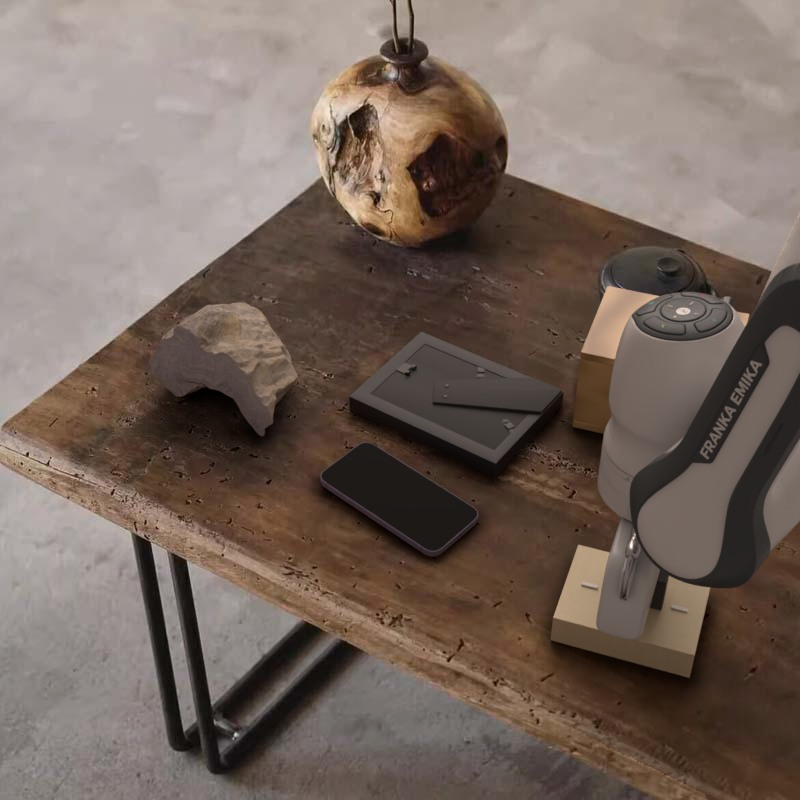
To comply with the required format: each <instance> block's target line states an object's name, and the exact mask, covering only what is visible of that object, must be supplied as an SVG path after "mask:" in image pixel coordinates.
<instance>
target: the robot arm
mask: <svg viewBox="0 0 800 800" xmlns="http://www.w3.org/2000/svg"><path fill="white" fill-rule="evenodd" d="M792 225H793V226H792V228H791V230H790V232H789V235H788V236H787V239H786V241H785V244H784V245H783V247H782V249H781V251H780V254H779V256H778V258H777V260H776V262H775V264H774V266H773V269H772V270H771V272H770V275H769V277H768V278H767V281H766V284H765V286H764V288H763V291H762V292H761V295H760V298H759V299H758V301H757V304H756V306H755V308H754V310H753V312H752V313H751V315H750V316H749V320H748V322H747V324H746V326H744V325H743V323H742V321H741V319H740V317H739V315H738V313H737V312H738V311H737V310H736V308H735V309H734V308H733V307H732V306H731V305H730V304H728V303H727V302H725V301H724V300H722V299H721V297H720V298H719V297H717V296H715V295H712V294H709V293H705V292H704V293H703V292H696V291H680V292H672V293H666V294H663V295H658V296H659V297H657V298H655V299H653V300H651V301H649V302H648V303H646V304H644V305H643V306H641V307H640V308H638V309H637V310H636V311H635V312H634V313H633V314H632V315H631V316H630V318H629V319H628V321H627V323H626V325H625V328H624V330H623V332H622V335H621V338H620V342H619V345H618V349H617V352H616V357H615V361H614V366H613V371H612V377H611V384H610V391H609V405H610V409H611V413H612V415H611V418H610V420H609V422H608V424H607V426H606V428H605V432H604V434H603V437H602V444H601V452H600V457H599V459H600V460H599V466H598V475H597V490H598V493H599V495H600V497H601V499H602V501H603V502H604V504H605V505H606V506H607V507H608V508H609V509H610V510H611V511H612V512H614V513H615V514H616V515H617V516H618V517H619V518H620V519H619V522H618V525H617V529H616V532H615V535H614V537H613V541H612V544H611V547H610V550H609V552H610V553H609V557H608V560H607V564H606V569H605V573H604V578H603V583H602V589H601V594H600V600H599V606H598V612H597V618H596V626H597V628H598V629H599V630H600V631H601V632H603V633H606V634H608V635H611V636H615V637H618V638H623V639H628V640H638V639H639V638H640V637H641V635H642V633H643V630H644V626H645V623H646V619H647V616H648V612H649V608H650V605H651V601H652V597H653V594H654V590H655V587H656V583H657V579H658V576H659V572H660V570H661V571H663V572H664V573H665V574H667V575H669V576H671V577H673V578H675V579H677V580H679V581H682V582H685V583H688V584H692V585H696V586H701V587H709V588H710V589H735V588H738V587H740V586H743V585H745V584H746V583H748V581H750V580H751V579H752V577H753V576H754V574H755V573H756V572H757V571H758V570H759V568H760V567H761V566H762V565H763V564H764V562H765V561H766V560H767V558H768V557H769V556H770V553H771V552H772V551H773V550H774V549H775V547H777V545H779V544H780V542H781V541H783V539H784V538H785V537H787V535H788V534H789V533H790V532H791V531H792V530H793V529H794V528H795V527H796V526H797V525H799V523H800V210H799V211H798V214H797V217H796V218H795V221H794V223H793V224H792ZM736 311H737V312H736Z"/></svg>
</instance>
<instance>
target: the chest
mask: <svg viewBox="0 0 800 800" xmlns="http://www.w3.org/2000/svg"><path fill="white" fill-rule="evenodd" d="M612 371H613V365H609V364H604V363H599V362H595V361H590V360H585V359H581V358H580V357H579V365H578V372H577V373H578V374H577V383H576V391H575V401H574V409H573V417H572V427H573V428H576V429H579V430H584V431H590V432H592V433H593V432H594V433H598V434H601V435H604V432H605V428H606V426H607V424H608V422H609V420H610V418H611V415H612V413H611V409H610V405H609V391H610V384H611V377H612Z"/></svg>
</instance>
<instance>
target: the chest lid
mask: <svg viewBox="0 0 800 800" xmlns="http://www.w3.org/2000/svg"><path fill="white" fill-rule="evenodd" d="M659 296H660V295H655V294H652V293H646V292H640V291H635V290H631V289H625V288H621V287H620V288H619V287H615V286H610V285H607V286H606V289H605V291H604V293H603V295H602V299H601V301H600V304H599V306H598V308H597V312H596V314H595V315H594V318H593V321H592V323H591V326H590V328H589V331H588V334H587V335H586V338H585V341H584V342H583V343H584V344H583V346H582V348H581V351H580V356H579V359H580V358H581V359H585V360H590V361H595V362H599V363H604V364H609V365H613V366H614V361H615V357H616V352H617V349H618V345H619V342H620V338H621V335H622V332H623V330H624V328H625V325H626V323H627V321H628V319H629V318H630V316H631V315H632V314H633V313H634V312H635V311H636V310H637V309H638V308H640V307H641V306H643V305H644V304H646V303H648V302H649V301H651V300H653V299H655V298H657V297H659ZM720 299H722V300H724V301H725V302H727V303H728V304H730V305H731V306H732V307H733V308H734V309H735V311H736V312H737V313H738V315H739V317H740V319H741V321H742V323H743V325H744V326H746V324H747V322H748V321H749V319H750V317H751V315H750V313H747V312H742V311H737V310H736V307H737V302H736V299H735V298H734V297H732V296H723V297H720Z"/></svg>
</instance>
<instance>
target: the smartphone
mask: <svg viewBox="0 0 800 800" xmlns="http://www.w3.org/2000/svg"><path fill="white" fill-rule="evenodd" d="M319 479H320V480H319V481H320V485H321V486H322V487H323V488H325V489H326V490H327V491H329V492H331V493H332V494H334V495H335V496H337V497H338V498H339V499H341V500H343V501H344V502H345V503H347V504H349V505H350V506H352V507H353V508H355V509H356V510H358V511H359V512H361V513H362V514H363V515H365V516H367V517H368V518H370V519H371V520H373V521H374V522H376V523H377V524H378V525H380V526H382V527H383V528H384V529H386V530H387V531H389V532H390V533H392V534H394V535H395V536H397V538H400V539H401V540H403V541H404V542H406V543H407V544H409V545H410V546H412V547H413V548H414V549H416V550H418V551H419V552H420V553H422V554H423V555H425V556H427V557H433V558H434V557H439V556H440V555H442V554H443V553H444V552H446V551H447V549H449V548H450V547H451V546H452V545H454V544H455V543H456V542H457V541H459V540H460V538H462V536H464V535H465V534H466V533H467V532H469V531H470V530H471V529H472V528H473V527H474V526H475V525H476V524H477V523H478V522H479V510H477V508H476V507H474V506H473V505H471V504H469V503H468V502H467V501H465V500H463V499H462V498H460V497H459V496H457V495H455V494H454V493H452V492H451V491H449V490H448V489H446V488H444V487H443V486H441V485H439V484H438V483H436V482H434V481H433V480H431V479H430V478H429V477H427V476H425V475H424V474H422V473H421V472H419V471H417V470H416V469H414V468H413V467H411V466H409V465H407V464H406V463H404V462H403V461H401V460H400V459H398V458H397V457H395V456H394V455H392V454H390V453H389V452H388V451H385V450H384V449H383V448H381V447H379V446H378V445H376V444H374V443H372V442H370V441H369V442H367V441H363V442H361V443H359V444H357V445H356V446H354V447H353V448H351V450H349V451H348V452H346V453H345V454H344V455H342V456H341V457H340V458H339V459H337V460H336V461H334V462H333V463H331V464H330V465H329V466H328V467H326V468H324V470H323V471H321V473H320V476H319Z"/></svg>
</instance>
